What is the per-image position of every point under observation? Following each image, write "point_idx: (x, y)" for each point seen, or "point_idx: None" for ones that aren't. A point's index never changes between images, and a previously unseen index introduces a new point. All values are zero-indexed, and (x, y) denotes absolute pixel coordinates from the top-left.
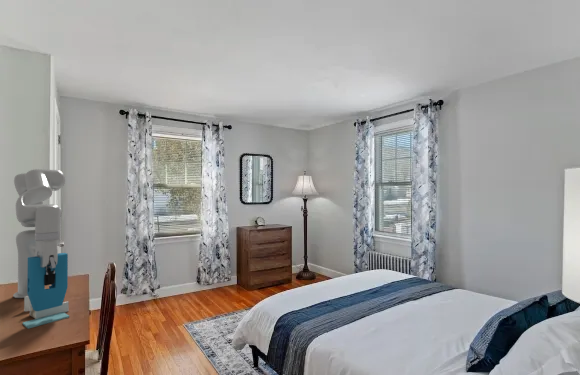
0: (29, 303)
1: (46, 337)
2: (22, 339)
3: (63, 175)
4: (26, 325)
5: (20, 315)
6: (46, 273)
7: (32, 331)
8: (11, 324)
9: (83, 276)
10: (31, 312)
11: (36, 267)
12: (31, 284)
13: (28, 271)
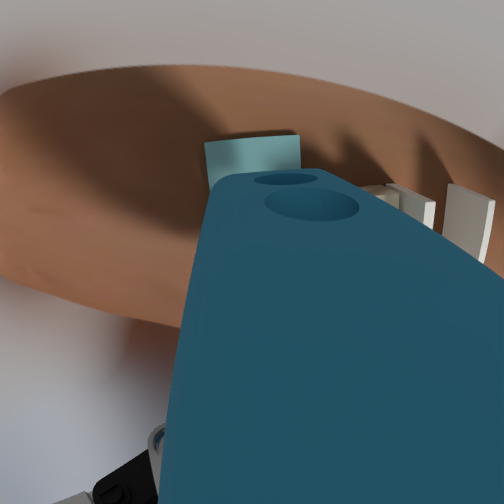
0: (465, 207)
1: (55, 192)
2: (91, 119)
3: None
4: (234, 140)
5: (420, 159)
6: (149, 446)
7: (153, 153)
8: (332, 102)
9: None
10: (384, 189)
11: None
12: (207, 215)
13: (424, 293)
